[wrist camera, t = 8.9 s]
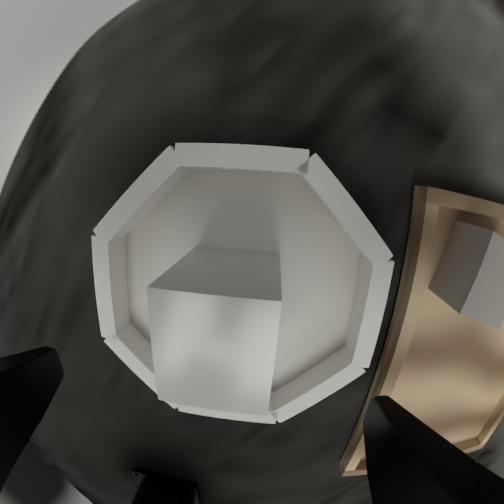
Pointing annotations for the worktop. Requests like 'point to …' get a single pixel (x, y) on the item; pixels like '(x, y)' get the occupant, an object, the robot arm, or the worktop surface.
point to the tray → (438, 338)
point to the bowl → (250, 238)
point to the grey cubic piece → (472, 274)
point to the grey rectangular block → (216, 329)
